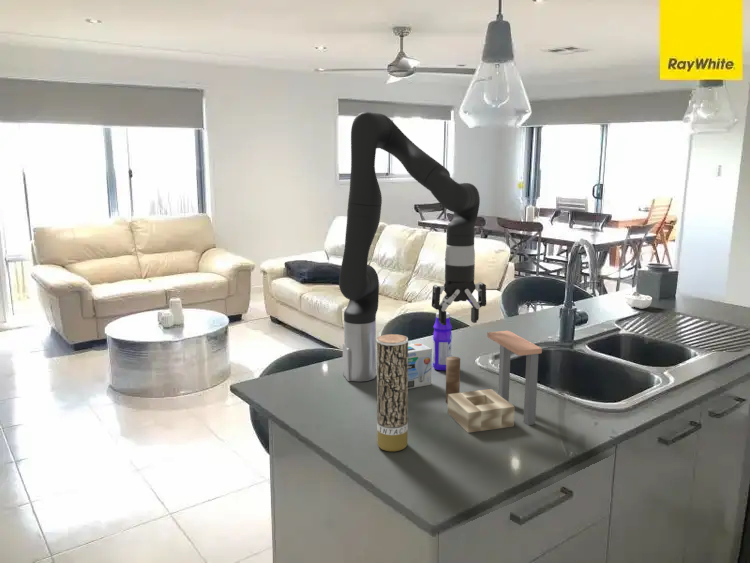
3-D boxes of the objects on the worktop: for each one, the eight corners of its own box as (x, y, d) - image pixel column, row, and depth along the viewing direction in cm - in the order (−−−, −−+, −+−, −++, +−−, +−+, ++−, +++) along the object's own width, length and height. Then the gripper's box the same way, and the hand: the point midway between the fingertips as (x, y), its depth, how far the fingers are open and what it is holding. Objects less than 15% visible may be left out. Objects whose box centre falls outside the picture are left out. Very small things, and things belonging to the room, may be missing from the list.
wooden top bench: (515, 427, 147) (519, 350, 143) (485, 402, 162) (487, 332, 158) (538, 424, 148) (541, 348, 144) (505, 400, 163) (508, 330, 159)
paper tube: (376, 439, 141) (375, 334, 136) (405, 438, 141) (405, 333, 136) (378, 453, 134) (378, 343, 129) (409, 452, 135) (410, 342, 130)
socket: (467, 432, 144) (468, 412, 143) (447, 412, 155) (447, 394, 154) (513, 426, 147) (514, 406, 146) (490, 407, 159) (491, 388, 158)
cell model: (637, 312, 255) (638, 296, 253) (618, 305, 266) (619, 290, 265) (657, 310, 257) (659, 294, 256) (638, 304, 269) (639, 288, 267)
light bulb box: (399, 391, 170) (399, 353, 168) (388, 383, 176) (388, 347, 174) (432, 384, 175) (433, 348, 173) (420, 377, 181) (420, 342, 179)
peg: (448, 405, 160) (449, 361, 158) (443, 400, 163) (444, 357, 161) (461, 404, 161) (462, 360, 159) (455, 398, 164) (456, 356, 162)
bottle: (450, 372, 185) (451, 316, 181) (431, 371, 186) (432, 315, 182) (452, 364, 192) (453, 310, 188) (434, 363, 193) (434, 309, 189)
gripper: (438, 266, 152) (438, 329, 155) (491, 263, 156) (490, 325, 159) (428, 261, 159) (428, 321, 162) (479, 258, 163) (478, 318, 166)
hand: (458, 323), depth 161 cm, fingers open, 8 cm apart
